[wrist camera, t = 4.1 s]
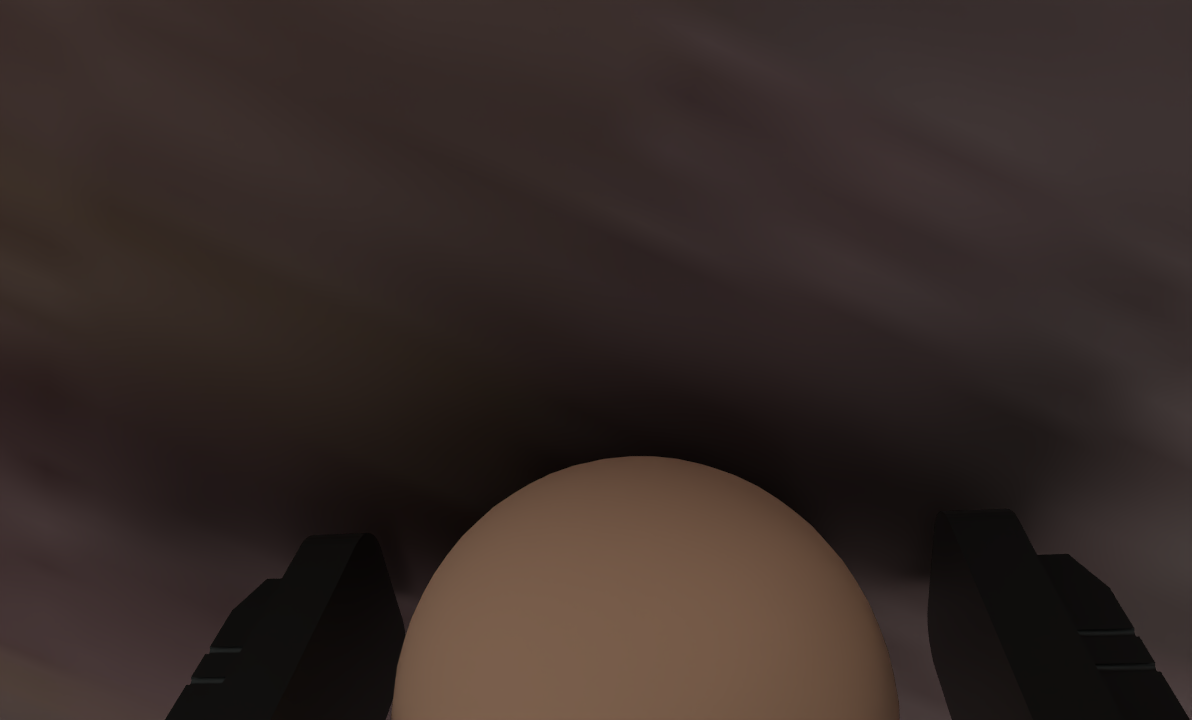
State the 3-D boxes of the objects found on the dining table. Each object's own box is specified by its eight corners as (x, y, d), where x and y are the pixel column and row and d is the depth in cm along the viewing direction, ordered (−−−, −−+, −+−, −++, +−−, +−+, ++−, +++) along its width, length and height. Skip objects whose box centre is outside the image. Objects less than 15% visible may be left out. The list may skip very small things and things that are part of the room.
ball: (418, 382, 10) (221, 758, 6) (855, 355, 10) (1003, 753, 5) (493, 679, 13) (394, 1104, 8) (846, 673, 12) (944, 1132, 8)
